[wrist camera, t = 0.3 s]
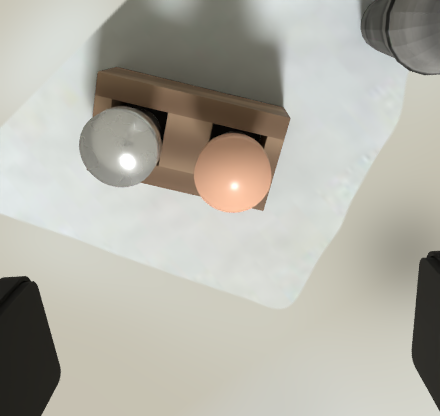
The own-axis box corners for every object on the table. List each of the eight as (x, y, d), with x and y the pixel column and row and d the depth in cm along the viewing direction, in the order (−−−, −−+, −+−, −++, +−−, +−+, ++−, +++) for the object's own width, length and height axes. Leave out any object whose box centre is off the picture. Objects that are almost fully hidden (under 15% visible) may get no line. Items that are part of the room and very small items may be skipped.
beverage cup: (442, 1, 38) (634, -32, 20) (397, 78, 41) (529, 112, 22) (372, -36, 37) (503, -107, 19) (331, 45, 40) (410, 52, 21)
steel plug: (111, 89, 38) (83, 101, 31) (177, 105, 38) (163, 121, 31) (103, 153, 40) (75, 177, 33) (165, 167, 40) (150, 194, 34)
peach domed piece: (209, 113, 38) (202, 130, 31) (273, 128, 39) (280, 149, 32) (196, 174, 41) (187, 203, 34) (256, 188, 41) (260, 219, 34)
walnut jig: (116, 66, 41) (97, 71, 36) (283, 107, 42) (290, 118, 37) (105, 153, 45) (86, 170, 39) (260, 189, 46) (263, 210, 40)
